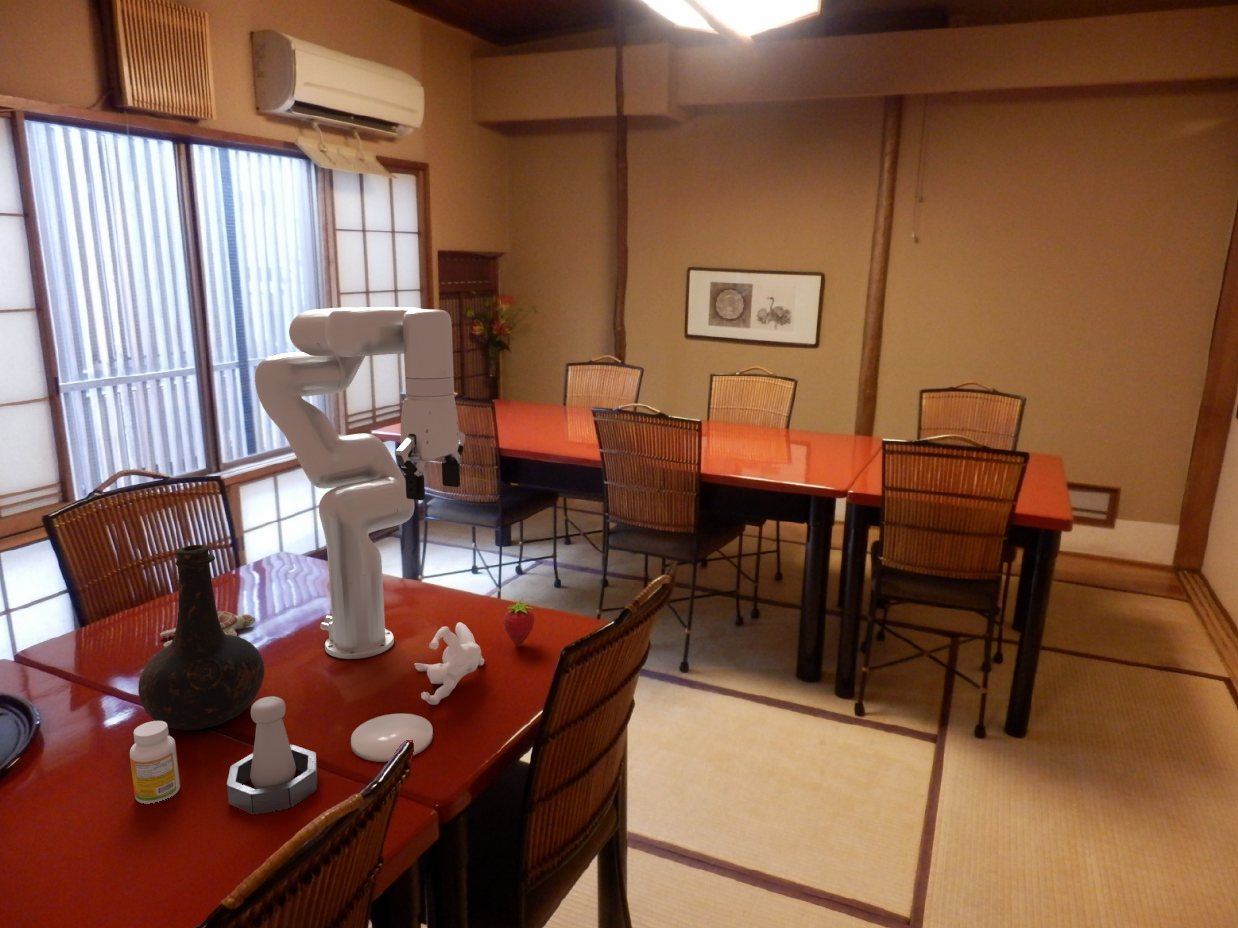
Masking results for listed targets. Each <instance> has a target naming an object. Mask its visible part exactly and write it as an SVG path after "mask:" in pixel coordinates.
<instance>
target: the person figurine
mask: <svg viewBox="0 0 1238 928" xmlns="http://www.w3.org/2000/svg"><path fill="white" fill-rule="evenodd" d="M454 629H455V630H454V632H455V633H453V632H452V631H451V630H450V628H449V627H448V626H441V627H440V628H439V629H438V630H437V632H436V633H435V635H434V637H433V639H432V640H431V641H430V643H429V645H428V648H429V649H431V650H437V649H438V648H439V646H440V645H439V643H440V642H439V641H440V639H443V641H444V642H445V643H446V644H447V646H446V648H445V649H444V651H443V653H442V663H441V662H438V663H434V664H426V663H421V662H416V663H414V667H415V669H416V670H417V671H418V672H426V675H427V677H428V679H429V682H430V683H431V684H432V685H433V684H434V685H441V684H443V685H441V686H440V687H438V688H437V689H436V690H435V693H434V694H433V695H431V694H430V693H429V692H428V691H426V692H425V691H423V692H421V693H420V696H421V697H420V698H421V699H422V700H423V701H426V702H427V703H428V704H429V705H432V706H435V705H436V706H437V705H439V704H440V701H441V700H442V699H444V698H446V697H448V696H450V694H451V693H452V691H453V690H454V689H455V688H456V686H457V684H458V683H459V682H460V680H461V679H462V678H463V677H465V676H467V675H468V674H471V673H474V672H475V671H476V670H477V668H478V666H483V665H484V664H485V659H484V658H483V656H482V650H481V647H480V645H478V644H477V643H476V640H475V636H474V634H473V633H472V631H471V630H470V629H469V628H468V627H467V625H466V624H465V623H463V622H461V621H459V622H457V623H456V625H455V628H454Z"/></svg>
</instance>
